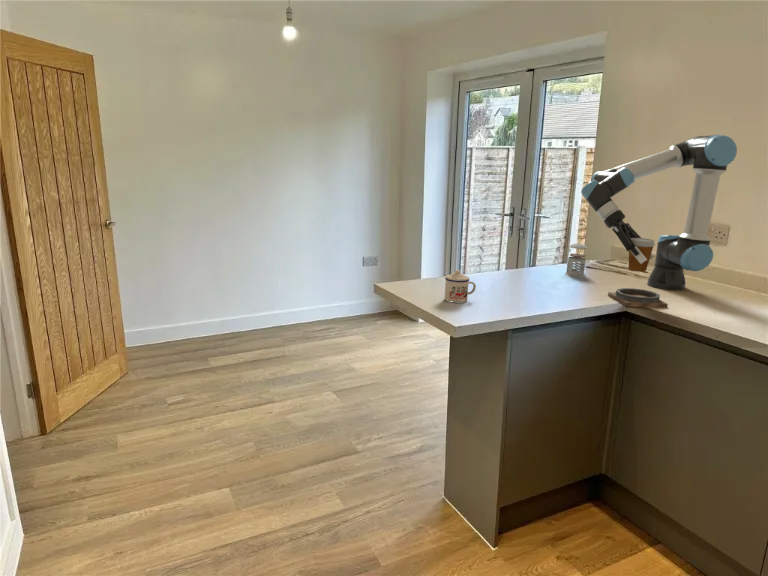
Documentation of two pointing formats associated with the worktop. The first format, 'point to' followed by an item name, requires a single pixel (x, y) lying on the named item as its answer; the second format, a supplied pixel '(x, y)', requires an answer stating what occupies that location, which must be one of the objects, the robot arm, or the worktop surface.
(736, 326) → the worktop surface
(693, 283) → the worktop surface
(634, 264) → the disposable coffee cup
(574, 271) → the french press
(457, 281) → the teacup with lid
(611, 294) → the docking plate
